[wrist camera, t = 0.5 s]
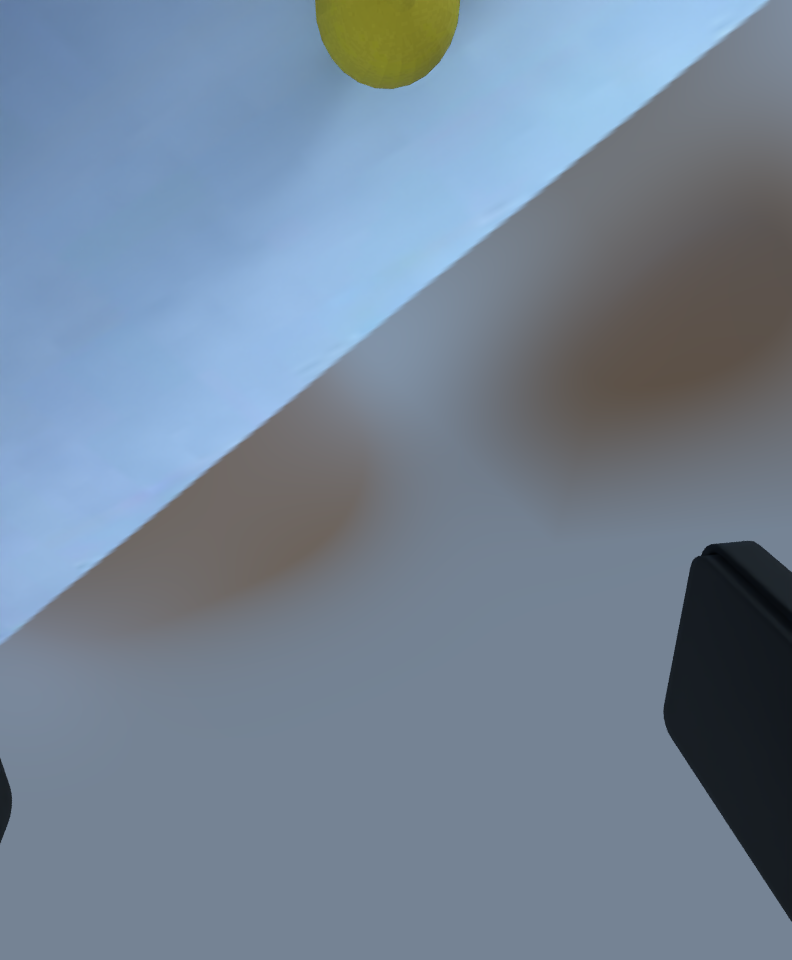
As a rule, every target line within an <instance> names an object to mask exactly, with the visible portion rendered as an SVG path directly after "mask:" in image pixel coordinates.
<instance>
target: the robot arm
mask: <svg viewBox="0 0 792 960" xmlns="http://www.w3.org/2000/svg"><path fill="white" fill-rule="evenodd" d="M664 720H665V725H666V728H667V730H668V733H669V734H670V736H671V738H672V740H673V741H674V743H675V744H676V746H677V747H678V749H679V750H680V752H681V753H682V755H683V756H684V758H685V760H686V761H687V763H688V764H689V765H690V767H691V769H692V770H693V772H694V773H695V775H696V776H697V778H698V779H699V781H700V782H701V784H702V786H703V787H704V788H705V790H706V792H707V793H708V795H709V796H710V798H711V799H712V801H713V802H714V804H715V805H716V807H717V808H718V810H719V811H720V813H721V815H722V816H723V817H724V819H725V821H726V822H727V824H728V825H729V827H730V828H731V829H732V831H733V833H734V834H735V836H736V837H737V839H738V841H739V842H740V844H741V845H742V847H743V848H744V849H745V851H746V853H747V854H748V856H749V857H750V859H751V860H752V862H753V863H754V865H755V866H756V868H757V870H758V871H759V872H760V874H761V876H762V877H763V879H764V880H765V882H766V883H767V885H768V886H769V888H770V889H771V891H772V892H773V894H774V896H775V897H776V899H777V900H778V901H779V903H780V904H781V906H782V908H783V909H784V911H785V912H786V914H787V915H788V917H789V918H790V920H791V921H792V572H791V571H789V570H788V569H787V568H786V567H785V566H784V565H782V564H781V563H780V562H779V561H778V560H776V559H775V558H774V557H773V556H772V555H770V553H768V552H767V551H766V550H765V549H764V548H762V547H761V546H760V545H759V544H757V543H755V542H754V541H742V542H731V543H720V544H711V545H709V546H707V547H706V548H705V549H704V551H703V552H702V555H701V556H698V557H696V558H695V559H694V560H693V561H692V564H691V567H690V572H689V577H688V583H687V588H686V593H685V599H684V604H683V609H682V614H681V619H680V625H679V630H678V635H677V640H676V645H675V651H674V656H673V661H672V667H671V672H670V677H669V683H668V688H667V693H666V698H665V703H664ZM11 808H12V795H11V789H10V786H9V783H8V780H7V777H6V774H5V771H4V768H3V765H2V762H1V759H0V843H1V840H2V837H3V835H4V832H5V830H6V827H7V824H8V821H9V818H10V814H11Z"/></svg>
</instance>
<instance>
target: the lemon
mask: <svg viewBox="0 0 792 960" xmlns="http://www.w3.org/2000/svg"><path fill="white" fill-rule="evenodd" d="M315 5H316V20H317V24H318V28H319V31H320V35H321V38H322V41H323V43H324V45H325V47H326V49H327V51H328V53H329V54H330V56H331V58H332V59H333V60H334V62H335V63H336V64H337V65H338V66H339V67H340V68H341V69H342V71H343V72H344V73H346V74H347V75H349V76H350V77H352V78H353V79H355V80H356V81H357V82H359V83H362V84H365V85H368V86H371V87H373V88H383V89H394V88H398V87H402V86H406V85H410V84H412V83H414V82H415V81H417V80H419V79H421V78H423V77H424V76H426V75H427V74H428V73H429V72H430V71H431V70H432V69H433V68H434V67H435V66H436V65H437V64H438V63H439V62H440V60H441V59H442V57H443V56H444V54H445V52H446V51H447V49H448V47H449V46H450V44H451V41H452V39H453V36H454V33H455V30H456V27H457V23H458V15H459V6H460V0H315Z"/></svg>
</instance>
